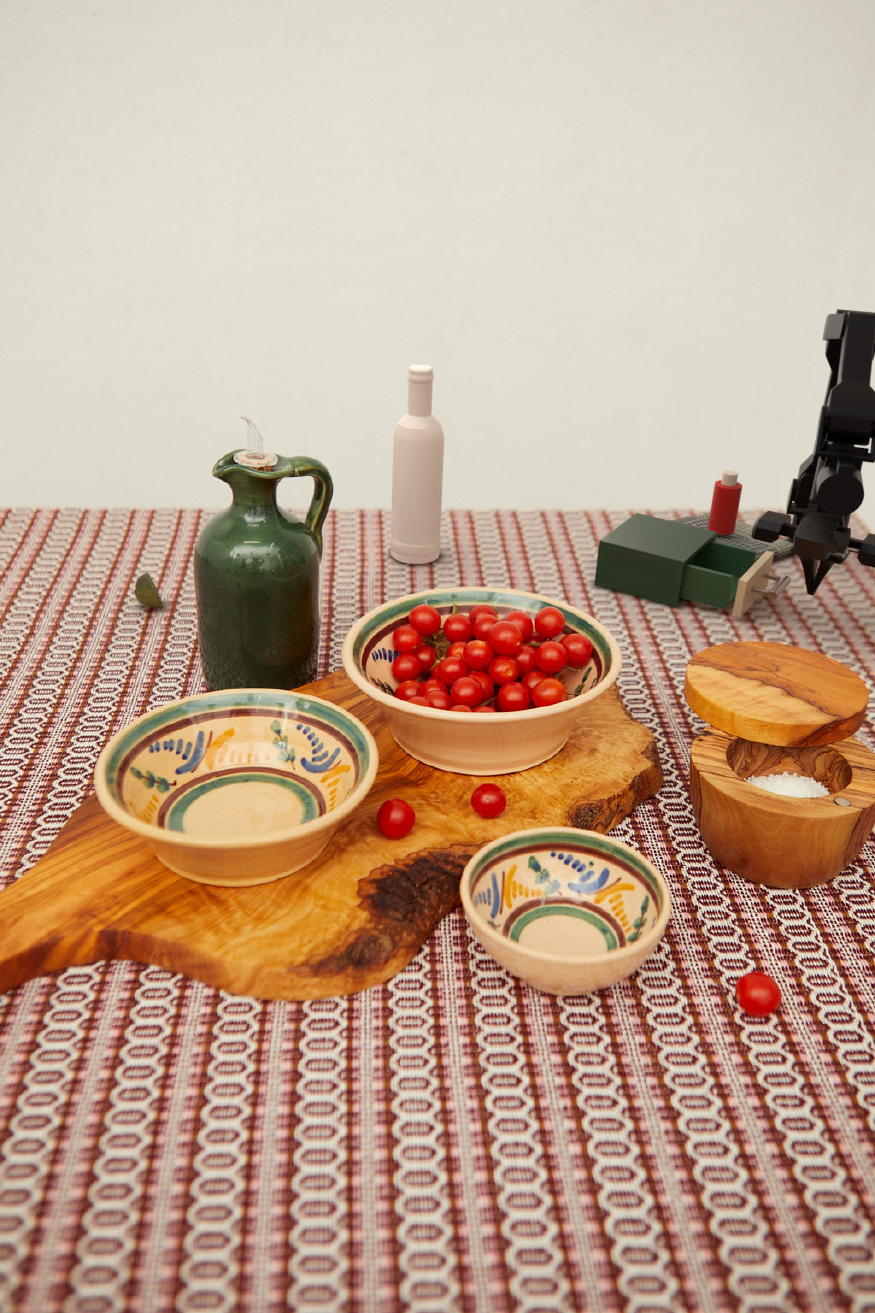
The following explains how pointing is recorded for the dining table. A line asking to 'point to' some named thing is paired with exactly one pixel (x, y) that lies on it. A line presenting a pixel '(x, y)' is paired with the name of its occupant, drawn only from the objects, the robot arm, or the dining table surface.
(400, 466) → the bottle
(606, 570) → the dark green box
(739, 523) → the dish towel
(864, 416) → the robot arm
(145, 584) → the lime
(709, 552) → the drawer
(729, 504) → the sauce bottle
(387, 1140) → the dining table surface
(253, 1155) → the dining table surface
